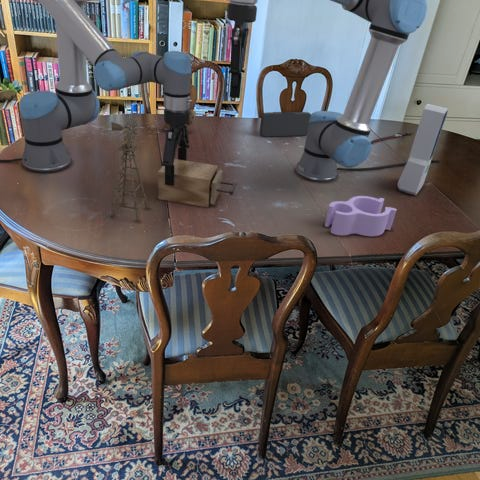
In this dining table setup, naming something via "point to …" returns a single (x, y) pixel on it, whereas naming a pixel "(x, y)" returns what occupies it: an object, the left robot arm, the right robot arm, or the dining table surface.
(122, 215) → the dining table surface
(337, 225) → the clip
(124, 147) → the miniature windmill
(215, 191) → the drawer
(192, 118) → the lion figurine
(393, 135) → the sword
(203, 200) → the cabinet
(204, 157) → the dining table surface
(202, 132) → the dining table surface
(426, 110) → the electronic device
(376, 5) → the right robot arm
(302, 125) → the handheld gaming console
